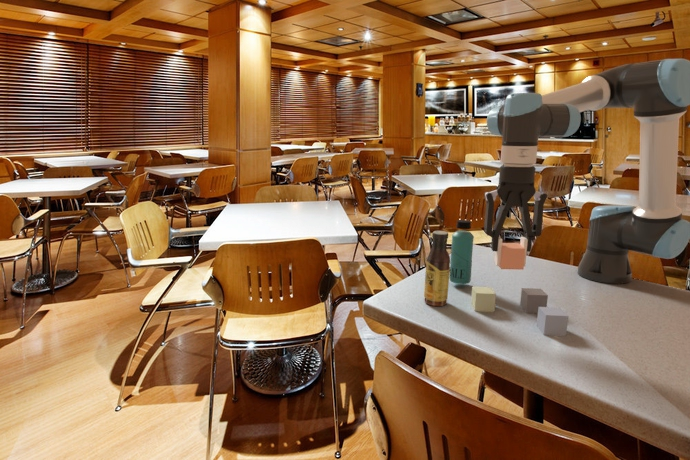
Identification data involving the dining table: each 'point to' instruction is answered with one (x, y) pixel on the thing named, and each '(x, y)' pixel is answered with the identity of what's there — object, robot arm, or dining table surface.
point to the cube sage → (483, 299)
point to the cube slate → (552, 321)
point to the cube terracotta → (512, 256)
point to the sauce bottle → (437, 271)
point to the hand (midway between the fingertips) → (509, 264)
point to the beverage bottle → (461, 254)
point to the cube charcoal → (533, 299)
